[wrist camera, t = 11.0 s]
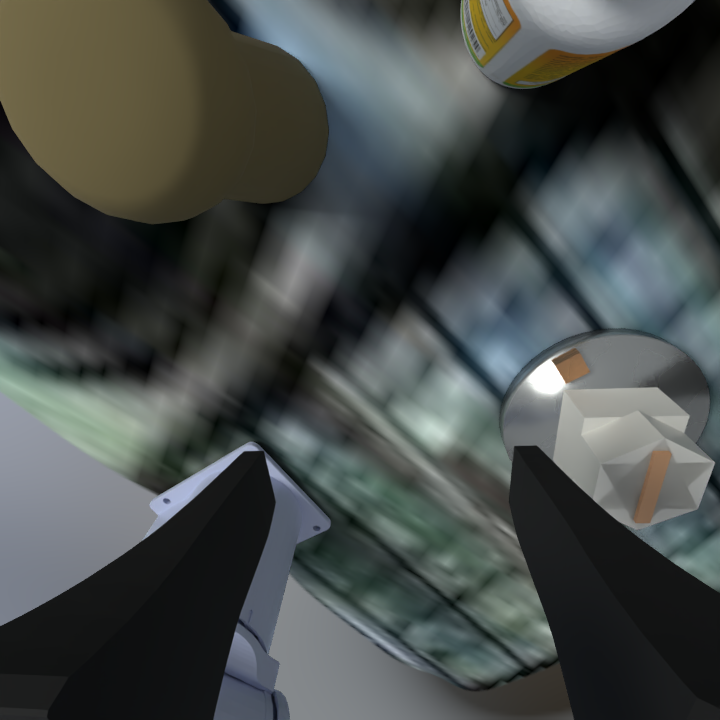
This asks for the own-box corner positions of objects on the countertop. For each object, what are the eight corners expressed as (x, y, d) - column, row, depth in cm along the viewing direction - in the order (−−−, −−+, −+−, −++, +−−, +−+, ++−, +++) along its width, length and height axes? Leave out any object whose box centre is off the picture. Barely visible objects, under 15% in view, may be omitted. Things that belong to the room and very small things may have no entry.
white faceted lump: (636, 463, 22) (692, 533, 18) (552, 464, 23) (587, 533, 19) (658, 381, 20) (728, 440, 16) (565, 384, 21) (608, 441, 16)
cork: (348, 77, 17) (281, -41, 7) (305, 223, 19) (210, 294, 9) (202, 13, 16) (-104, -216, 6) (178, 174, 19) (-64, 192, 9)
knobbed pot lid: (546, 508, 26) (565, 552, 23) (466, 390, 22) (476, 424, 20) (721, 437, 22) (769, 478, 20) (657, 289, 19) (703, 312, 16)
